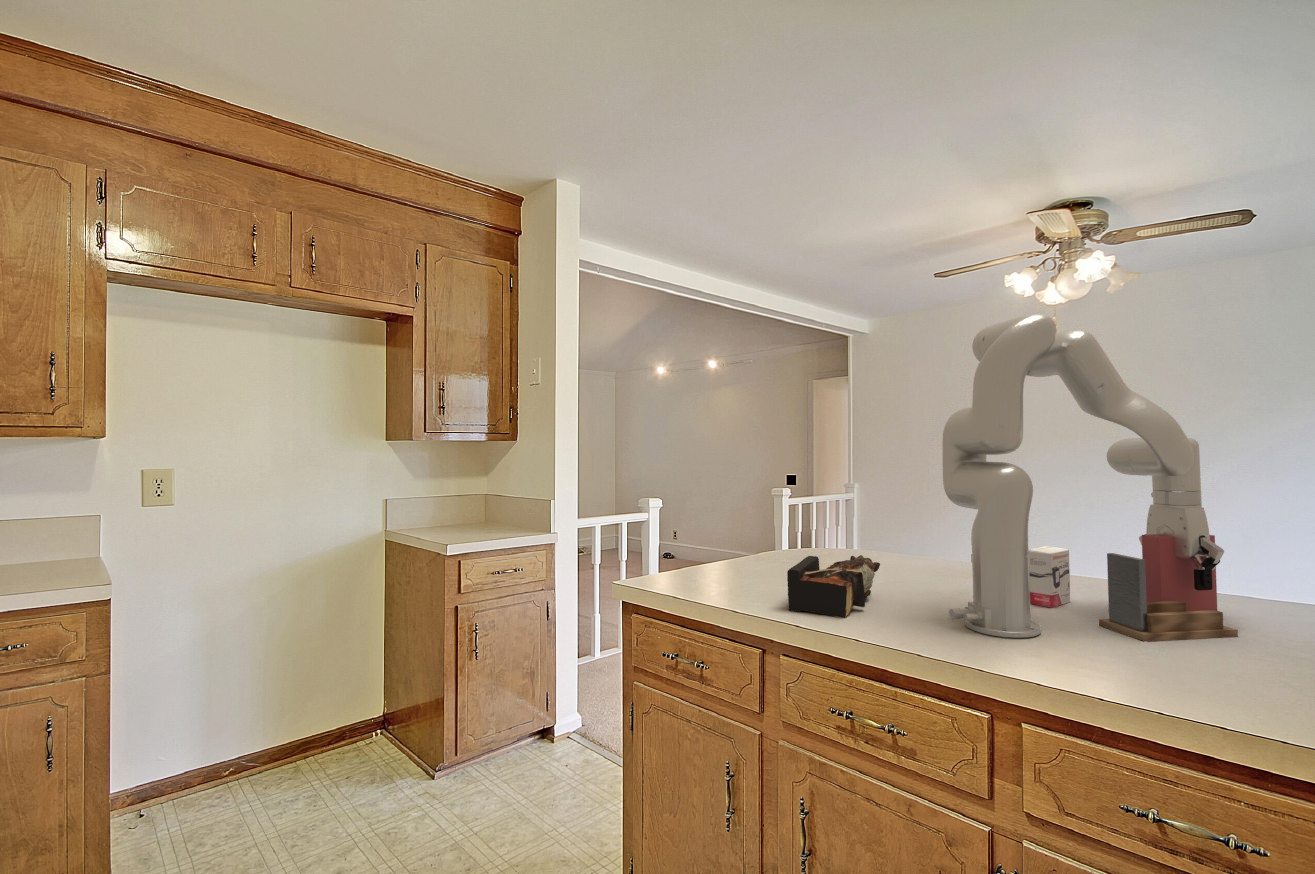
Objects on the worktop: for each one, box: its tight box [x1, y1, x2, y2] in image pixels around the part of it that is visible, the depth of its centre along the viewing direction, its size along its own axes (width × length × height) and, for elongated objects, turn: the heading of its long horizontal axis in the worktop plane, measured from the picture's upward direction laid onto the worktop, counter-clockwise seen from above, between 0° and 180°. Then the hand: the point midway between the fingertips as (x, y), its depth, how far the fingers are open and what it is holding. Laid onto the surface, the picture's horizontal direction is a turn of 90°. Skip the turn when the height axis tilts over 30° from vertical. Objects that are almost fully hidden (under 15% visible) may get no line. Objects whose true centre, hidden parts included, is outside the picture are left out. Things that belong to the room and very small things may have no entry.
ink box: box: [1029, 545, 1071, 609], centre depth 137 cm, size 8×5×12 cm, turn 123°
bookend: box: [786, 554, 881, 619], centre depth 141 cm, size 15×11×25 cm
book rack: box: [1098, 601, 1239, 642], centre depth 115 cm, size 18×10×4 cm, turn 95°
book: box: [1141, 534, 1218, 611], centre depth 125 cm, size 12×4×16 cm, turn 95°
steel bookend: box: [1106, 552, 1147, 632], centre depth 115 cm, size 1×7×14 cm, turn 5°
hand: (1180, 584), depth 125 cm, fingers open, 9 cm apart
